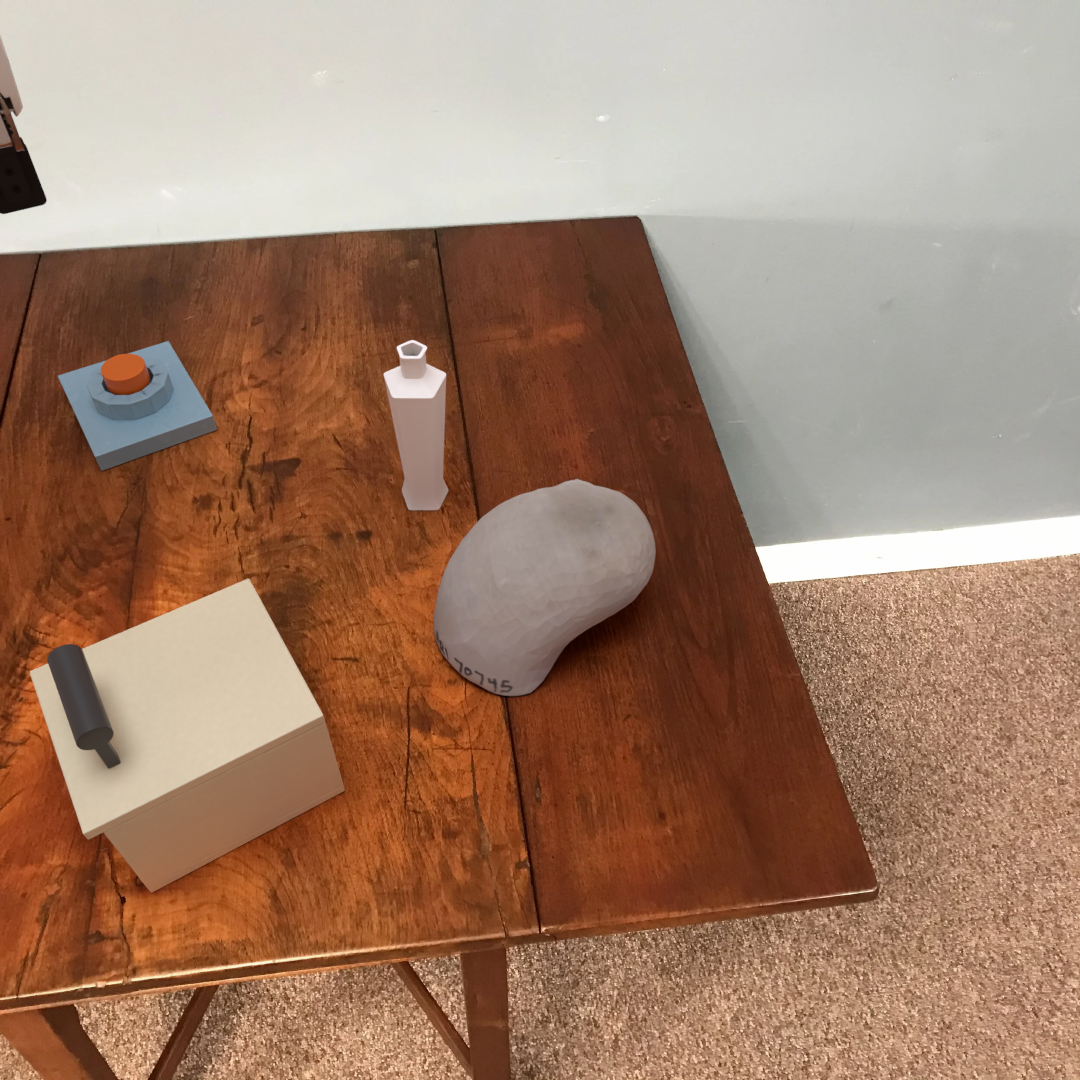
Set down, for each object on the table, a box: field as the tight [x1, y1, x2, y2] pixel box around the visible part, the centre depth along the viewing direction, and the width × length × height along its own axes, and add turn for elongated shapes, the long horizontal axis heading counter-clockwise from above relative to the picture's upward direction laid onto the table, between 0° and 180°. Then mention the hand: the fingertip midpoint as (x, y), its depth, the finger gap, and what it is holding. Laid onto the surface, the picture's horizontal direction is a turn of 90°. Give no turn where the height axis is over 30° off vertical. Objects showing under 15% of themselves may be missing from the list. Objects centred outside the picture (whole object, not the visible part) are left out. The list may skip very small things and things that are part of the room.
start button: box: [101, 353, 150, 395], centre depth 80 cm, size 4×4×2 cm
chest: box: [102, 721, 346, 894], centre depth 58 cm, size 13×12×9 cm
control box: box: [57, 340, 218, 472], centre depth 82 cm, size 10×12×4 cm
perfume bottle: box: [383, 339, 449, 511], centre depth 72 cm, size 5×4×15 cm
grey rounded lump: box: [433, 478, 657, 697], centre depth 68 cm, size 15×14×15 cm
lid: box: [29, 578, 326, 840], centre depth 53 cm, size 13×12×5 cm
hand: (21, 203), depth 64 cm, fingers closed
